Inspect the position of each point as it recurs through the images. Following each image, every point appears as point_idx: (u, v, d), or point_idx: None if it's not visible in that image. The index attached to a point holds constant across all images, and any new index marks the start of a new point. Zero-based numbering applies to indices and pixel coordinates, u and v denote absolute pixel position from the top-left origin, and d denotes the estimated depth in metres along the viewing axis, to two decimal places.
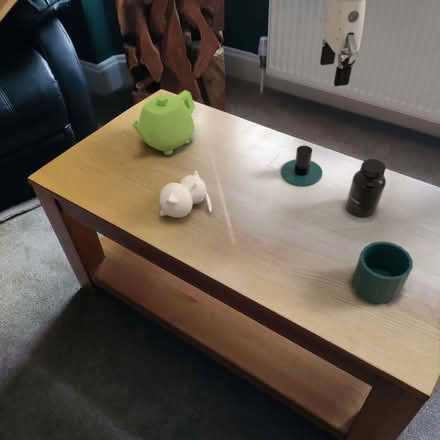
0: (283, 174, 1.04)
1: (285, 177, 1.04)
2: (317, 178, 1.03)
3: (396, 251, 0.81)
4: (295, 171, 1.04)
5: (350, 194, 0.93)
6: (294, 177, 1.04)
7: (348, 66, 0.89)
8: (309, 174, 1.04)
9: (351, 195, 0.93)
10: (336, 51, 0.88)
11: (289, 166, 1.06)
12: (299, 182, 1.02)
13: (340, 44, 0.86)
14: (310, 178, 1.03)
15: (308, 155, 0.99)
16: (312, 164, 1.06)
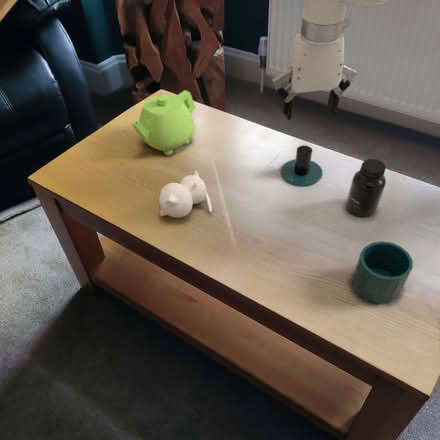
0: (283, 174, 1.04)
1: (285, 177, 1.04)
2: (317, 178, 1.03)
3: (396, 251, 0.81)
4: (295, 171, 1.04)
5: (350, 194, 0.93)
6: (294, 177, 1.04)
7: None
8: (309, 174, 1.04)
9: (351, 195, 0.93)
10: (336, 85, 0.87)
11: (289, 166, 1.06)
12: (299, 182, 1.02)
13: (340, 76, 0.86)
14: (310, 178, 1.03)
15: (308, 155, 0.99)
16: (312, 164, 1.06)
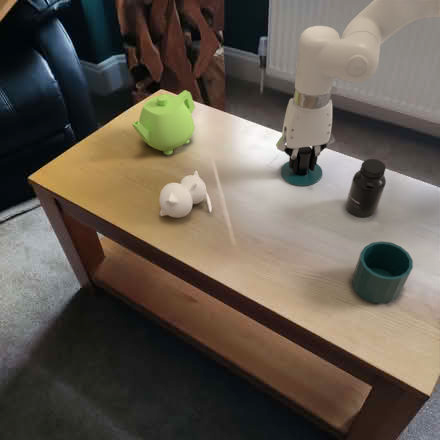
0: (283, 174, 1.04)
1: (285, 177, 1.04)
2: (317, 178, 1.03)
3: (396, 251, 0.81)
4: None
5: (350, 194, 0.93)
6: (294, 177, 1.04)
7: None
8: (309, 174, 1.04)
9: (351, 195, 0.93)
10: (326, 141, 0.97)
11: None
12: (299, 182, 1.02)
13: (330, 134, 0.96)
14: (310, 178, 1.03)
15: (308, 155, 0.99)
16: None
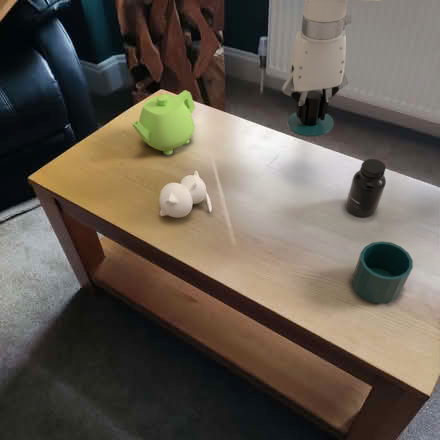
0: (290, 125, 0.94)
1: (292, 128, 0.93)
2: (328, 128, 0.92)
3: (396, 251, 0.81)
4: None
5: (350, 194, 0.93)
6: (302, 127, 0.93)
7: None
8: (319, 124, 0.93)
9: (351, 195, 0.93)
10: (338, 83, 0.86)
11: (296, 117, 0.95)
12: (308, 132, 0.91)
13: (343, 74, 0.85)
14: (320, 128, 0.92)
15: (318, 101, 0.89)
16: None
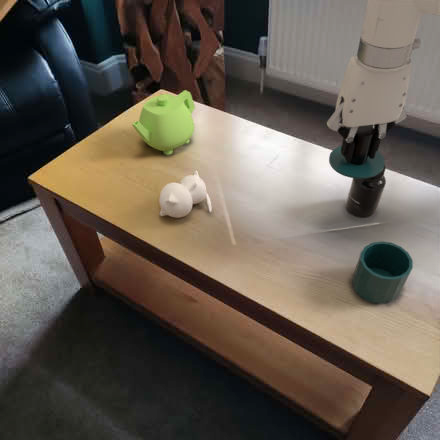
0: (333, 163, 0.79)
1: (336, 167, 0.78)
2: (379, 168, 0.78)
3: (396, 251, 0.81)
4: None
5: (350, 194, 0.93)
6: (348, 167, 0.78)
7: None
8: (367, 163, 0.79)
9: (351, 195, 0.93)
10: (396, 118, 0.71)
11: (339, 153, 0.81)
12: (355, 173, 0.77)
13: (402, 107, 0.70)
14: (369, 168, 0.78)
15: (369, 137, 0.74)
16: None
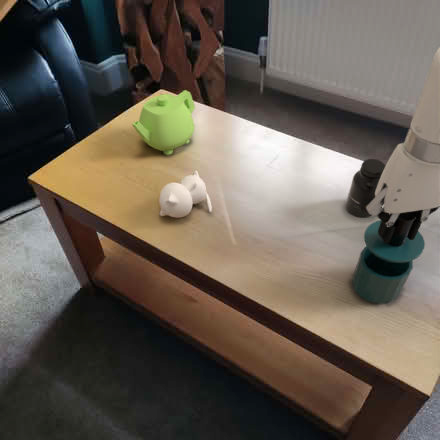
0: (369, 244, 0.74)
1: (372, 248, 0.73)
2: (419, 251, 0.72)
3: None
4: None
5: (350, 194, 0.93)
6: (385, 249, 0.73)
7: None
8: (406, 244, 0.73)
9: (351, 195, 0.93)
10: None
11: (375, 231, 0.76)
12: (394, 257, 0.72)
13: None
14: (409, 251, 0.72)
15: (411, 222, 0.69)
16: None
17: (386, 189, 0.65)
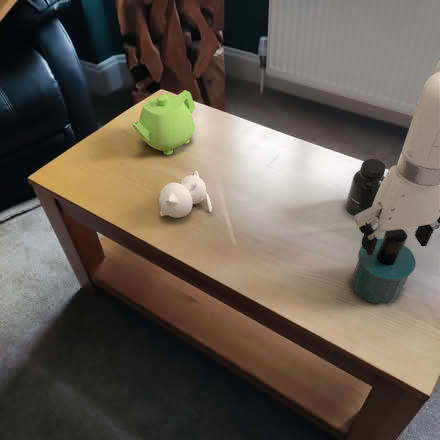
0: (363, 262, 0.78)
1: (366, 267, 0.77)
2: (410, 269, 0.76)
3: None
4: (379, 259, 0.77)
5: (350, 194, 0.93)
6: (378, 267, 0.77)
7: None
8: (398, 263, 0.77)
9: (351, 195, 0.93)
10: (434, 221, 0.69)
11: None
12: (386, 276, 0.76)
13: None
14: (400, 269, 0.76)
15: (402, 243, 0.73)
16: None
17: None
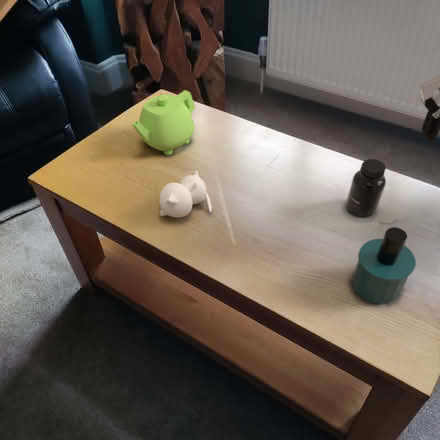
0: (363, 262, 0.78)
1: (366, 267, 0.77)
2: (410, 269, 0.76)
3: None
4: (379, 259, 0.77)
5: (350, 194, 0.93)
6: (378, 267, 0.77)
7: None
8: (398, 263, 0.77)
9: (351, 195, 0.93)
10: None
11: (368, 250, 0.79)
12: (386, 276, 0.76)
13: None
14: (400, 269, 0.76)
15: (402, 243, 0.73)
16: None
17: None
